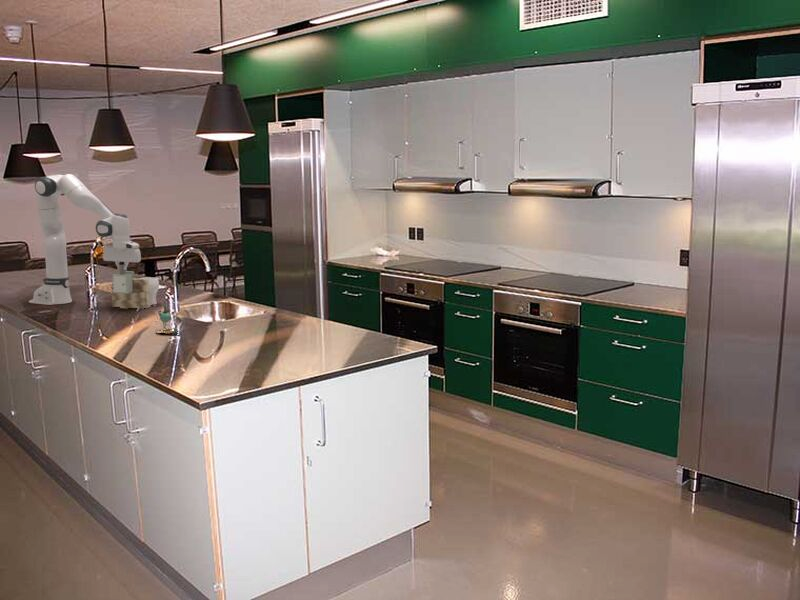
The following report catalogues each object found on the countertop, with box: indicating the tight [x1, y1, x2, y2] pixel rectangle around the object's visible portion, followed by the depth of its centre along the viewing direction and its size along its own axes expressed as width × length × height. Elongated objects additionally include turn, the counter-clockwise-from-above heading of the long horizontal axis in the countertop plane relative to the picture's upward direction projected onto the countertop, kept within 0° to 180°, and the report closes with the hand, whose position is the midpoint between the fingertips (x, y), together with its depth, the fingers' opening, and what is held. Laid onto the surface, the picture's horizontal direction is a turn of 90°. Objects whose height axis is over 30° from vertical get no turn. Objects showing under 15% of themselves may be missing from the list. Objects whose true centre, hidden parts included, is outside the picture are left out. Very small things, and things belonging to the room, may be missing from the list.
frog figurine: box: [155, 304, 179, 334], centre depth 357 cm, size 10×18×15 cm, turn 41°
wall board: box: [111, 277, 152, 309], centre depth 416 cm, size 20×7×16 cm, turn 82°
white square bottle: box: [112, 264, 135, 294], centre depth 408 cm, size 8×9×15 cm
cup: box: [139, 276, 160, 305], centre depth 426 cm, size 11×11×15 cm
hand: (122, 269), depth 407 cm, fingers closed on white square bottle
